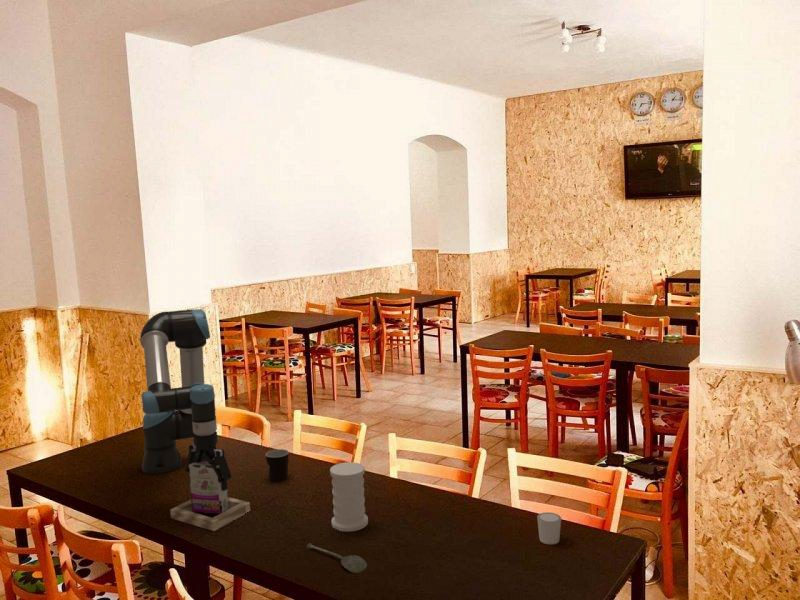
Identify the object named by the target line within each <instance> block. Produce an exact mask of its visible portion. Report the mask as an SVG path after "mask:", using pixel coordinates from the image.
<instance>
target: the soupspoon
mask: <svg viewBox="0 0 800 600" xmlns="http://www.w3.org/2000/svg"><path fill="white" fill-rule="evenodd" d="M306 548H307V549H311V550H312V549H313V550H318V551H321V552H324V553H326V554H329V555H332V556H335V557H336V558H338V559H340V563H341V565H342V567H343V568H344V569H346V570H347V571H349V572H350V573H354V574H357V573H361V572H363V571H365V570H366V569H367V567H368V564H367V561H366V560H365V559H364V558H363V557H361V556H359V555H356V554H355V555H354V554H353V555H346V556H342V555H341V554H338V553H335V552H333V551H329V550H326V549H324V548H321V547H318V546H316V545H313V544H312V543H308V544H307V545H306Z"/></svg>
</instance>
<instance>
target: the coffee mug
mask: <svg viewBox="0 0 800 600" xmlns="http://www.w3.org/2000/svg"><path fill="white" fill-rule="evenodd" d="M264 454H265V460H266V465H267V471H268V476H269V481H270V482H272V483H282V481H283V482H284V481H287V480H288V470H289V469H288V468H289V456H290V455H289V454H290V451H289V450H288V449H283V448H282V449H281V448H277V449H273V450H269V451H267V452H266V453H264ZM286 479H287V480H286Z"/></svg>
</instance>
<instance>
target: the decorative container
mask: <svg viewBox="0 0 800 600" xmlns="http://www.w3.org/2000/svg"><path fill="white" fill-rule="evenodd" d="M329 469H330V470H329V474H330V476H331V477H332V479H331V485H332V490H331V491H332V492H331V493H332V496H333V497H332V498H333V499H332V504H333V509H332V510H333V511H332V513H333V515H334V516H333V517H332V518H331V519H330V520H331V528H332V529H334V528H335V529H334V530H336V529H337V530H336V531H338V530H339V532H343V533H344V532H345V533H346V532H347V533H348V532H349V533H350V532H356V531H360V530H363V529H364V528H366V527H367V526H368V524H369V518H368V515H367V514H366V507H365V502H366V498H365V487H364V484H365V483H364V482H365V479H364V474H365V471H366V469H365V465H363V464H362V463H359V462H353V461H352V462H340V463H337V464H334V465H332V466H331V467H330V468H329Z"/></svg>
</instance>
